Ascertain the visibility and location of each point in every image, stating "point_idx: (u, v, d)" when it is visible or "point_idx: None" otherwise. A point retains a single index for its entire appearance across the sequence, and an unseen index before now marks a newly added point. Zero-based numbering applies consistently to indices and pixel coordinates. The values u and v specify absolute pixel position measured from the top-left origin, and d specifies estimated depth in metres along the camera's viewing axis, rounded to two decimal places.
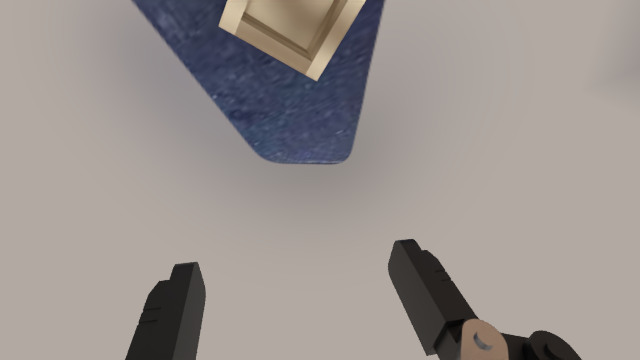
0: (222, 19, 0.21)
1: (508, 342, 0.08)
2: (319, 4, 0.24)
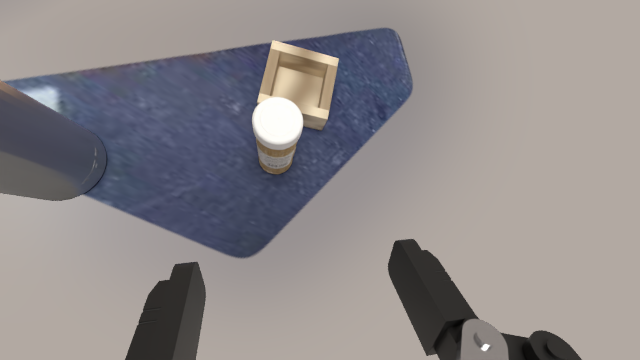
0: (323, 117, 0.35)
1: (508, 342, 0.08)
2: (296, 76, 0.39)
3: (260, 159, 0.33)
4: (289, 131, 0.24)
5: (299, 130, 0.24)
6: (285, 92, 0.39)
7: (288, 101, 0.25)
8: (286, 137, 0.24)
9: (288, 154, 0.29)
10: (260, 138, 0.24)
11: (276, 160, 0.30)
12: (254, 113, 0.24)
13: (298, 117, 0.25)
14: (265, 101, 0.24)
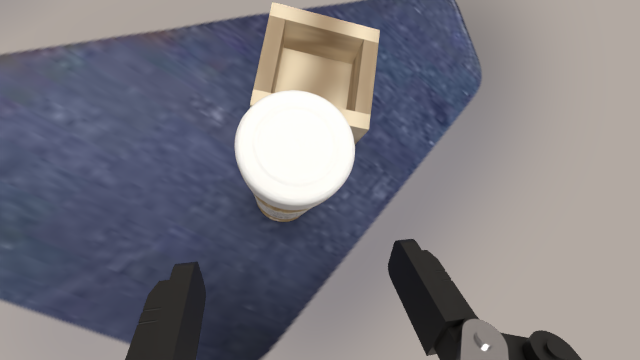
0: (361, 126, 0.21)
1: (508, 342, 0.08)
2: (311, 63, 0.25)
3: (258, 205, 0.19)
4: (325, 171, 0.10)
5: (348, 167, 0.10)
6: (295, 88, 0.24)
7: (319, 99, 0.11)
8: (320, 186, 0.10)
9: None
10: (256, 191, 0.10)
11: (289, 215, 0.15)
12: (239, 131, 0.10)
13: (344, 136, 0.10)
14: (265, 101, 0.10)
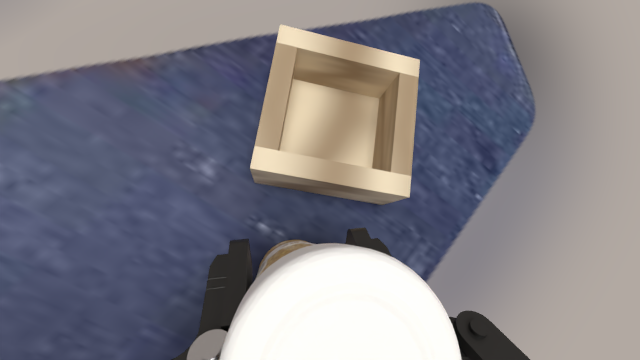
0: (400, 193, 0.16)
1: None
2: (328, 98, 0.20)
3: None
4: None
5: None
6: (308, 132, 0.19)
7: (390, 270, 0.05)
8: None
9: None
10: None
11: None
12: None
13: (445, 352, 0.05)
14: (281, 286, 0.05)
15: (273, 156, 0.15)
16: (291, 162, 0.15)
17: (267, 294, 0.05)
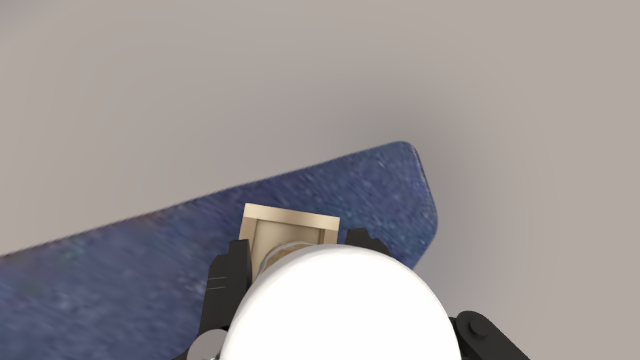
0: None
1: None
2: (283, 232, 0.29)
3: None
4: None
5: None
6: None
7: (390, 271, 0.05)
8: None
9: None
10: None
11: None
12: None
13: (444, 352, 0.05)
14: (281, 287, 0.05)
15: None
16: None
17: (267, 295, 0.05)
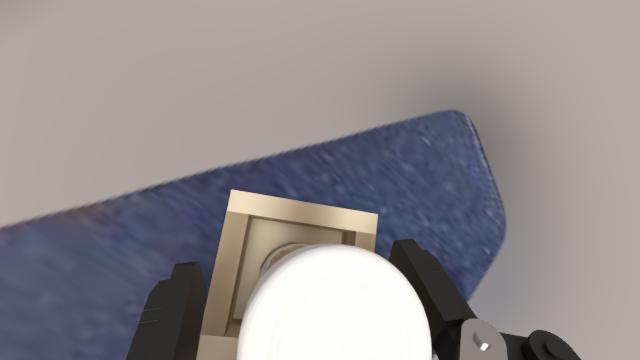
0: None
1: (507, 342, 0.08)
2: (289, 236, 0.19)
3: None
4: None
5: None
6: None
7: (373, 263, 0.07)
8: None
9: None
10: None
11: None
12: (245, 337, 0.06)
13: (416, 328, 0.06)
14: (288, 276, 0.06)
15: (219, 344, 0.14)
16: None
17: (277, 282, 0.06)
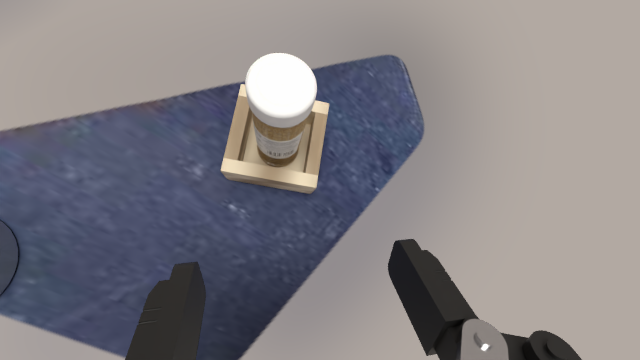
0: (310, 185, 0.26)
1: (508, 342, 0.08)
2: None
3: (259, 147, 0.26)
4: (298, 99, 0.17)
5: (312, 98, 0.17)
6: None
7: (295, 58, 0.18)
8: (294, 107, 0.17)
9: (295, 137, 0.22)
10: (257, 110, 0.17)
11: (280, 146, 0.23)
12: (248, 75, 0.17)
13: (310, 80, 0.18)
14: (263, 58, 0.17)
15: (234, 163, 0.26)
16: (245, 167, 0.26)
17: (259, 60, 0.17)
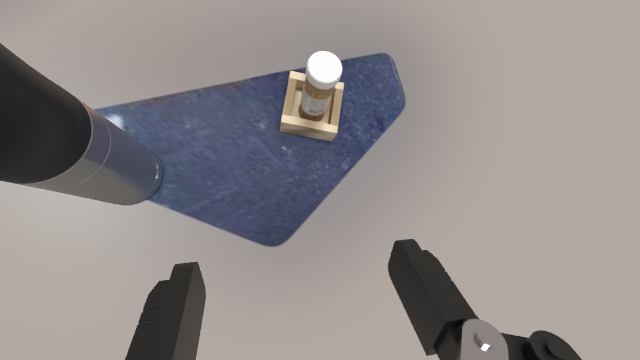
0: (333, 131, 0.44)
1: (508, 342, 0.08)
2: None
3: (302, 108, 0.43)
4: (333, 74, 0.34)
5: (340, 73, 0.35)
6: None
7: (331, 53, 0.35)
8: (331, 77, 0.34)
9: (328, 98, 0.39)
10: (313, 79, 0.34)
11: (318, 104, 0.40)
12: (308, 62, 0.34)
13: (339, 64, 0.35)
14: (315, 53, 0.35)
15: (288, 118, 0.43)
16: (294, 120, 0.43)
17: (313, 54, 0.35)
